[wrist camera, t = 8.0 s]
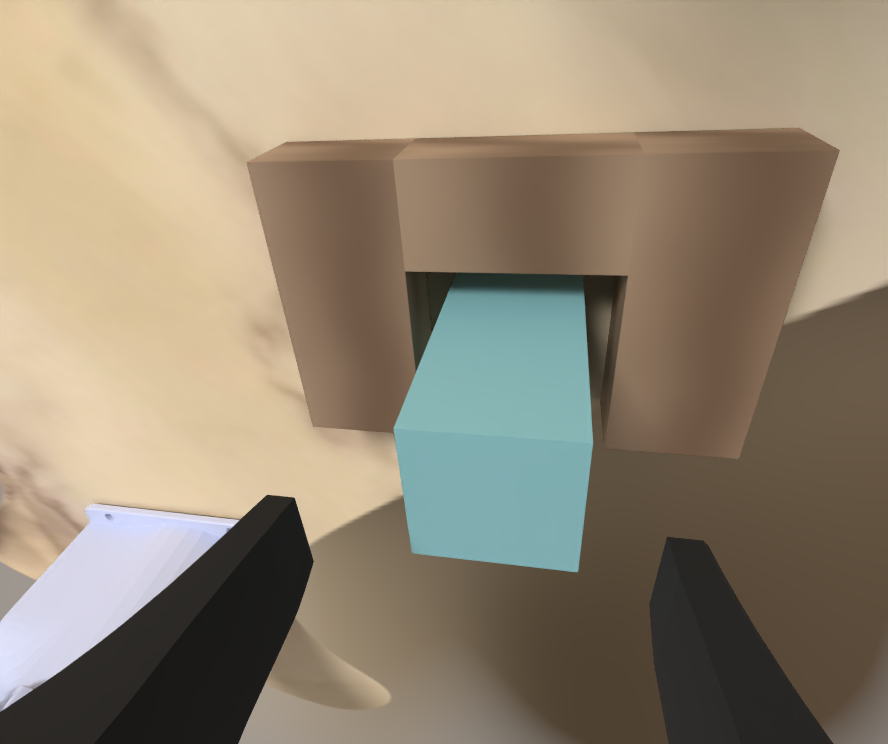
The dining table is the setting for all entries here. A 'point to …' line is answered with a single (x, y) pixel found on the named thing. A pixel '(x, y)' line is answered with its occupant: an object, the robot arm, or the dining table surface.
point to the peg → (501, 424)
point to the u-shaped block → (550, 261)
